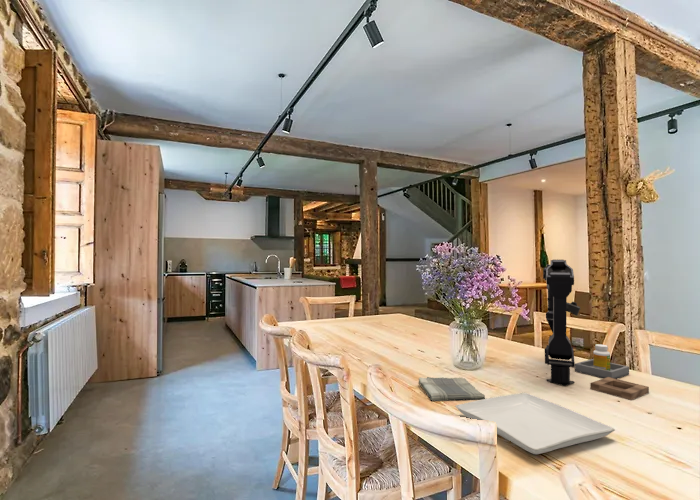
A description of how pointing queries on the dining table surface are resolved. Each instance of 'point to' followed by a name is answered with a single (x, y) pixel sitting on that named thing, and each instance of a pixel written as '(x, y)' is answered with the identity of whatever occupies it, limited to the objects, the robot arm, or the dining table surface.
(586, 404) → the dining table surface
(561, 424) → the square plate
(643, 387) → the socket block
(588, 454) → the dining table surface
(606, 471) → the dining table surface
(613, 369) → the tray
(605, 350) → the supplement bottle
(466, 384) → the dish towel
